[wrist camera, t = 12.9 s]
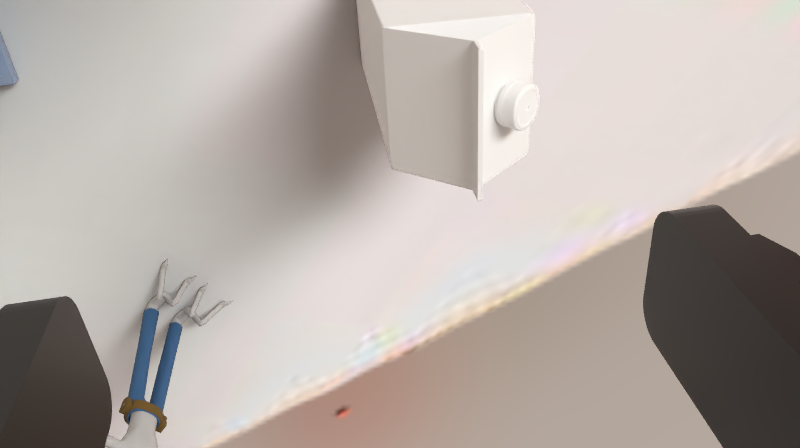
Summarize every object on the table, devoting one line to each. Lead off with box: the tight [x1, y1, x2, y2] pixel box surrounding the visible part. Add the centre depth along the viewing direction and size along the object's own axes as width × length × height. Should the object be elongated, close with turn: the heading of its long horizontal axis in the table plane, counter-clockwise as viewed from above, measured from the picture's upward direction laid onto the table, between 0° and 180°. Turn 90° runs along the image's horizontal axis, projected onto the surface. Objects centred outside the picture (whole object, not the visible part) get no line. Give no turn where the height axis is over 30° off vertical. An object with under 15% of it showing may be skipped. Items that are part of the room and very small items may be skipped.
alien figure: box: [105, 258, 233, 448], centre depth 48 cm, size 20×5×19 cm, turn 43°
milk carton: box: [356, 0, 540, 201], centre depth 38 cm, size 7×7×19 cm
